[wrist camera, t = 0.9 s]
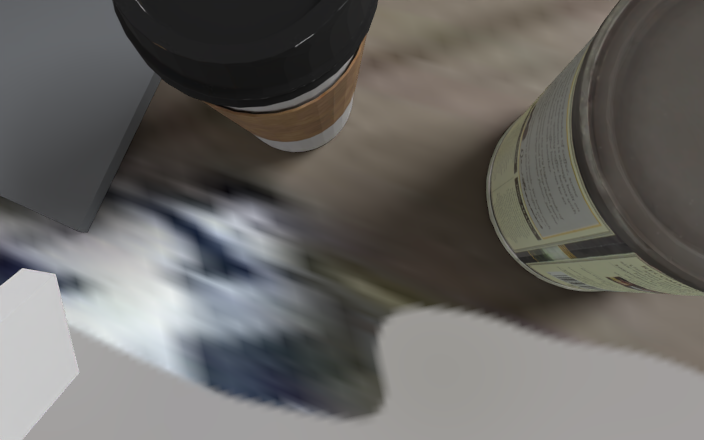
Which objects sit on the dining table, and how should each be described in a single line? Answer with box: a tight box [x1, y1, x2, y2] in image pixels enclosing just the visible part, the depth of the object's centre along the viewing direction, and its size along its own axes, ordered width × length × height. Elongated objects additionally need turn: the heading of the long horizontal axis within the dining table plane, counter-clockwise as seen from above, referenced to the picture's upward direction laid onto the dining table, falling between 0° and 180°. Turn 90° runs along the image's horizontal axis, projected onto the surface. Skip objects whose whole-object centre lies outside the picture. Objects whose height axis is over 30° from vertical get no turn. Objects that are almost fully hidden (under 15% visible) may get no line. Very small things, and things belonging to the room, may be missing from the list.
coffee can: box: [486, 0, 704, 296], centre depth 23 cm, size 10×10×14 cm
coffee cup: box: [112, 0, 378, 152], centre depth 23 cm, size 8×8×15 cm
